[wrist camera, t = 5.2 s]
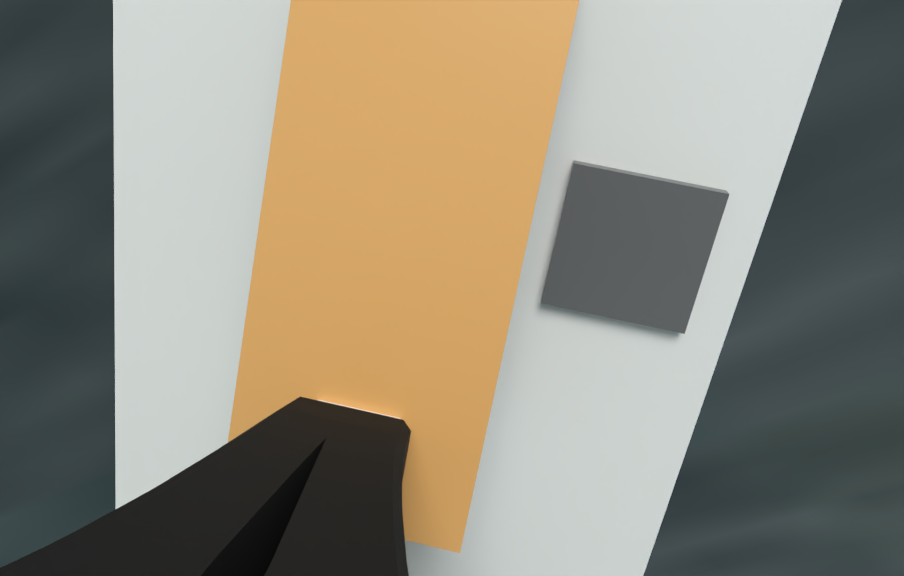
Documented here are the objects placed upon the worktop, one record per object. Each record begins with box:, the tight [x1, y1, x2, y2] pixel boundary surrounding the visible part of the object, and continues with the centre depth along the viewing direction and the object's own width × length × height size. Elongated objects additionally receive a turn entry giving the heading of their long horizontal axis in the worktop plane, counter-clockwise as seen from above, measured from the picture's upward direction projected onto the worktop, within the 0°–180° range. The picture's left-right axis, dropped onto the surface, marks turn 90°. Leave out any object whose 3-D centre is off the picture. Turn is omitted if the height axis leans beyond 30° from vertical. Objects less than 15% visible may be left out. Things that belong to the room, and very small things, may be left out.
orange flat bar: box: [228, 0, 579, 553], centre depth 9 cm, size 3×7×1 cm, turn 170°
